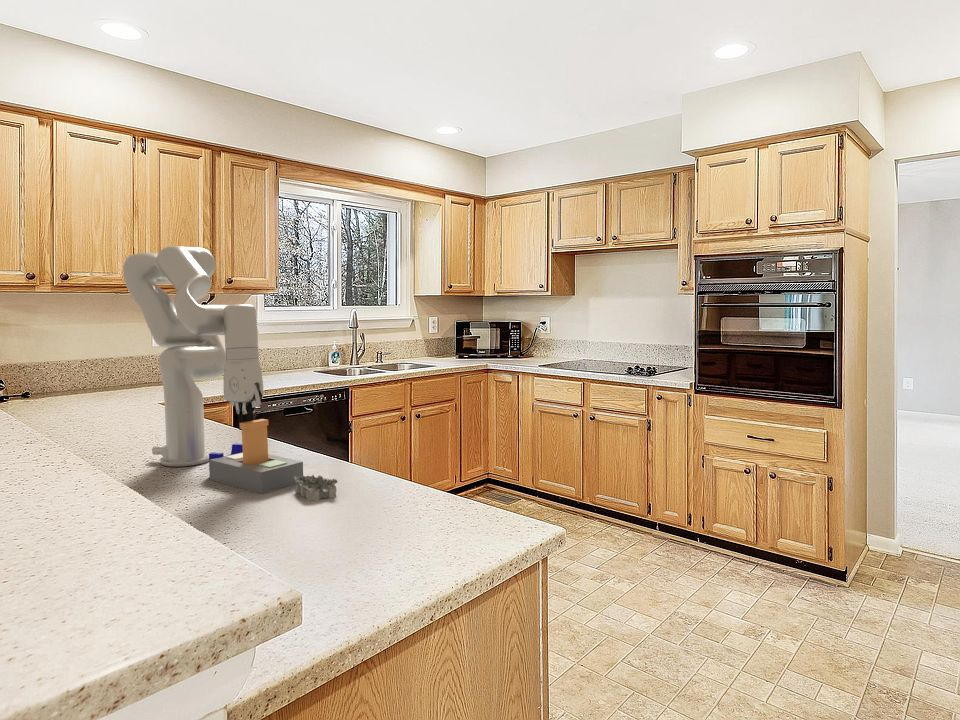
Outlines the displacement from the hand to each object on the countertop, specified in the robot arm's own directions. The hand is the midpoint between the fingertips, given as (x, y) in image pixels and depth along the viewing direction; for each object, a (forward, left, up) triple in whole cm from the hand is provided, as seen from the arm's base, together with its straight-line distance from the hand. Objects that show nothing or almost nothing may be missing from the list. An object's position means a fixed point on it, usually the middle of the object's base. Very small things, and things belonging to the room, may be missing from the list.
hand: (246, 429), depth 155 cm
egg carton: (+19, -12, -13) cm, 26 cm away
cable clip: (-8, +8, -13) cm, 17 cm away
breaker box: (+3, -2, -12) cm, 13 cm away
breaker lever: (+3, -2, -10) cm, 10 cm away
